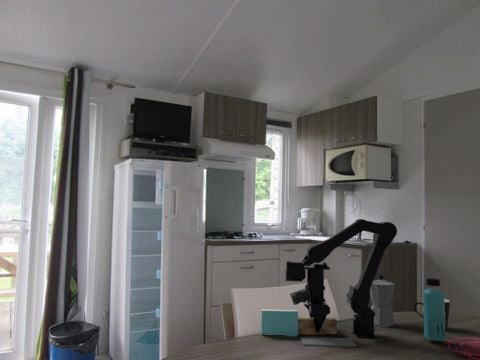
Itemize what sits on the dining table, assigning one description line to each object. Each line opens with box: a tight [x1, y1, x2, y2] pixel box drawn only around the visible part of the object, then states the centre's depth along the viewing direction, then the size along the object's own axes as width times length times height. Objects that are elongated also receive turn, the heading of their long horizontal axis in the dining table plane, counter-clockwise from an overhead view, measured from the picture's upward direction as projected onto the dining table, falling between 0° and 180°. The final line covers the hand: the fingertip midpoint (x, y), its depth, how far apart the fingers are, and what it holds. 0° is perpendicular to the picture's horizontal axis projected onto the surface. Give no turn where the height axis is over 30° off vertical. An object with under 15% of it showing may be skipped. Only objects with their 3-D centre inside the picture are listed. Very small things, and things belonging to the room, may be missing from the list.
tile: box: [260, 308, 299, 337], centre depth 132 cm, size 12×2×8 cm, turn 90°
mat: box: [300, 336, 357, 348], centre depth 125 cm, size 16×7×1 cm, turn 90°
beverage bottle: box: [422, 277, 447, 341], centre depth 129 cm, size 6×7×20 cm
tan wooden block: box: [298, 316, 338, 335], centre depth 135 cm, size 14×3×5 cm, turn 92°
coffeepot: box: [370, 274, 396, 327], centre depth 150 cm, size 15×9×18 cm, turn 150°
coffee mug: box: [413, 298, 451, 331], centre depth 146 cm, size 12×9×10 cm
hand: (315, 329), depth 135 cm, fingers open, 7 cm apart
